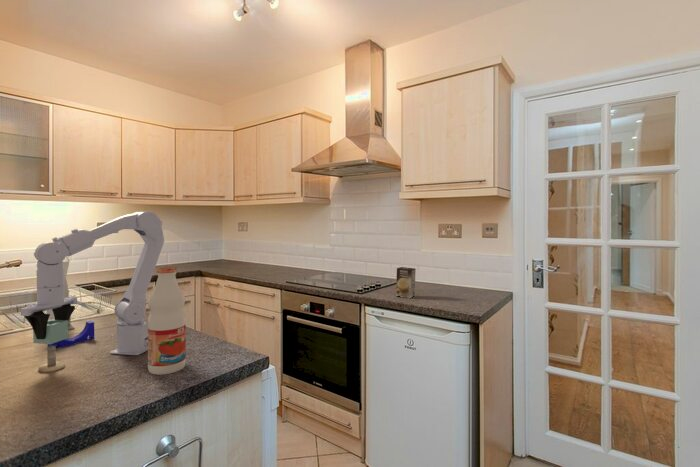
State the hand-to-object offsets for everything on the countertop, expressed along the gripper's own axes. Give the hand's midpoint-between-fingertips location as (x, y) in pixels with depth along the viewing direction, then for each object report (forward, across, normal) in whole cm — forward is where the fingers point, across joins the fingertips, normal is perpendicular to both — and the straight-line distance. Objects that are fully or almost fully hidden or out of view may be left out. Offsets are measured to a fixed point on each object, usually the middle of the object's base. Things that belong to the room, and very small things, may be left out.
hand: (51, 335), depth 100 cm
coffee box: (+9, -116, +99) cm, 152 cm away
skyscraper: (+9, -31, -30) cm, 44 cm away
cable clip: (+10, -19, -12) cm, 25 cm away
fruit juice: (+9, -5, +31) cm, 33 cm away
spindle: (+9, 0, 0) cm, 9 cm away
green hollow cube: (+1, 0, 0) cm, 1 cm away
